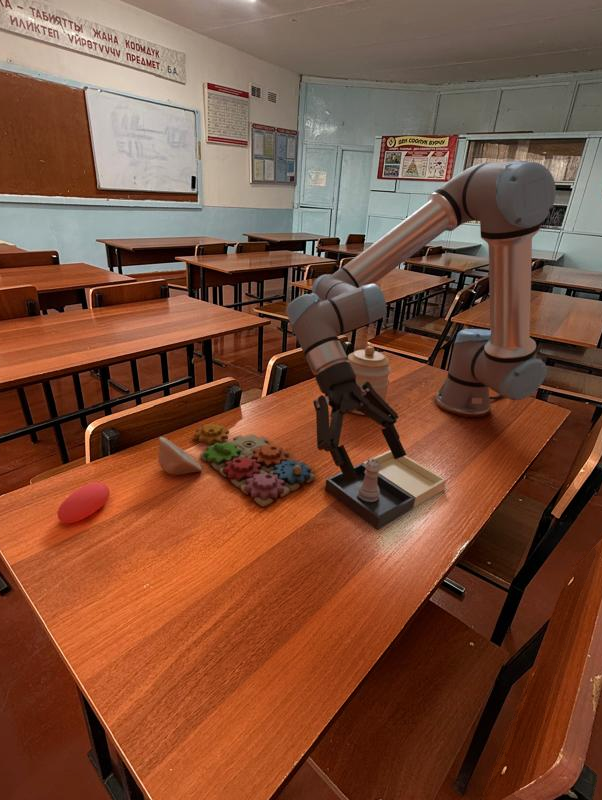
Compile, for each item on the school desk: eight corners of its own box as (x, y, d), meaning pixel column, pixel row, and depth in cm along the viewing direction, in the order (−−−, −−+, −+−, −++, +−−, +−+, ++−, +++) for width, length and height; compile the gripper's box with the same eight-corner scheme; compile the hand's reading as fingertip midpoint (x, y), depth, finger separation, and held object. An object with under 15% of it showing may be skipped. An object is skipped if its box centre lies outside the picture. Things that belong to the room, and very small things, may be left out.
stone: (209, 465, 94) (210, 447, 86) (192, 492, 90) (191, 476, 82) (167, 442, 94) (164, 422, 86) (148, 469, 91) (143, 451, 82)
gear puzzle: (175, 440, 100) (174, 425, 98) (233, 420, 110) (233, 406, 109) (261, 510, 80) (262, 492, 79) (322, 478, 91) (323, 461, 89)
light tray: (391, 457, 100) (393, 448, 99) (444, 489, 91) (446, 479, 90) (361, 472, 94) (362, 462, 93) (413, 507, 84) (416, 497, 83)
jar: (331, 398, 127) (337, 340, 119) (368, 393, 132) (377, 337, 125) (353, 419, 116) (362, 356, 109) (393, 412, 122) (404, 352, 114)
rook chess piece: (378, 505, 84) (385, 471, 80) (355, 501, 84) (360, 466, 81) (379, 491, 88) (386, 458, 84) (357, 487, 88) (362, 454, 85)
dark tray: (360, 472, 94) (361, 462, 93) (412, 508, 84) (415, 498, 83) (324, 489, 88) (326, 478, 87) (377, 529, 78) (379, 518, 77)
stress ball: (119, 516, 78) (119, 480, 78) (70, 526, 70) (70, 487, 71) (101, 514, 81) (101, 479, 81) (52, 524, 73) (52, 486, 73)
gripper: (363, 365, 96) (405, 453, 93) (271, 389, 81) (318, 496, 78) (385, 349, 91) (431, 443, 87) (290, 372, 75) (341, 487, 72)
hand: (378, 468), depth 82 cm, fingers open, 13 cm apart
